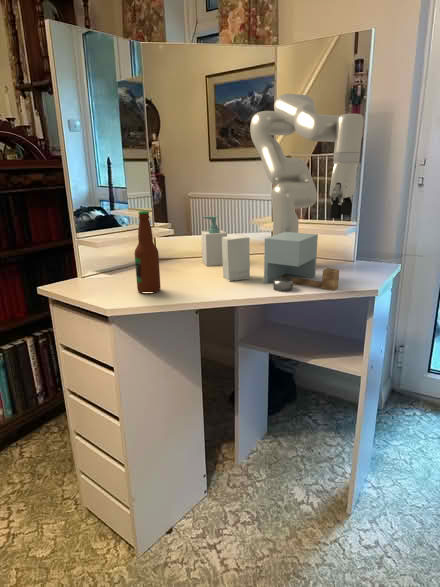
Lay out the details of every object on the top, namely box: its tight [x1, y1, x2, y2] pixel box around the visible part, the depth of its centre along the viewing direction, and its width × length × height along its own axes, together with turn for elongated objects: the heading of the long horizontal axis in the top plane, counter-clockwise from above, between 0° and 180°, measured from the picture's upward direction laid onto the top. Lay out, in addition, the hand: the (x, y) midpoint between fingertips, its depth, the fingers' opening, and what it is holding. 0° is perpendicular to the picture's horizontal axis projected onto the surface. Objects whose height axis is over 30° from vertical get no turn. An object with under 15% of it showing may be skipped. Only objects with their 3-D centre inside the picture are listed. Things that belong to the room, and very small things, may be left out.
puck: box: [272, 277, 294, 293], centre depth 129 cm, size 6×6×3 cm
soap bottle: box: [201, 215, 228, 267], centre depth 163 cm, size 9×9×19 cm
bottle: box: [134, 210, 162, 293], centre depth 126 cm, size 7×7×25 cm
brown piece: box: [279, 267, 340, 292], centre depth 132 cm, size 19×4×6 cm, turn 57°
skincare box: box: [222, 234, 251, 281], centre depth 140 cm, size 8×6×15 cm
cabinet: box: [263, 232, 319, 284], centre depth 137 cm, size 12×16×15 cm
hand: (340, 216), depth 127 cm, fingers open, 9 cm apart
